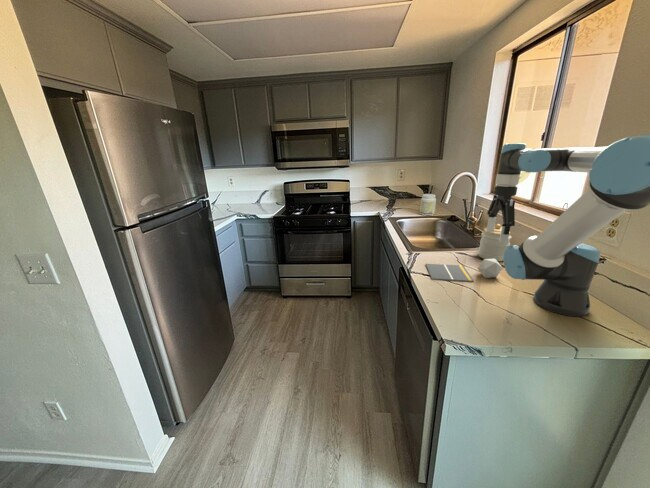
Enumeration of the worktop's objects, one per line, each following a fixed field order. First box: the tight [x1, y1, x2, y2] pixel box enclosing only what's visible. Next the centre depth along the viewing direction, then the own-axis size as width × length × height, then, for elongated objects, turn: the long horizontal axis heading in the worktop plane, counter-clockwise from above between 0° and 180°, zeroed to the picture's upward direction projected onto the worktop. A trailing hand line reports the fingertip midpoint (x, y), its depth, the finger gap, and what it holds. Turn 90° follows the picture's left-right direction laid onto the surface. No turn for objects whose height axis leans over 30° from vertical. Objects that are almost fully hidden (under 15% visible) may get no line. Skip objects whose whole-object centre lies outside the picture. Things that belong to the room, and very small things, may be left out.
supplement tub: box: [419, 193, 437, 216], centre depth 226 cm, size 12×12×17 cm
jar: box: [477, 223, 513, 262], centre depth 135 cm, size 13×13×18 cm
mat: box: [425, 263, 475, 283], centre depth 122 cm, size 16×17×1 cm
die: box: [477, 258, 504, 279], centre depth 117 cm, size 8×9×10 cm
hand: (496, 236), depth 112 cm, fingers open, 13 cm apart
